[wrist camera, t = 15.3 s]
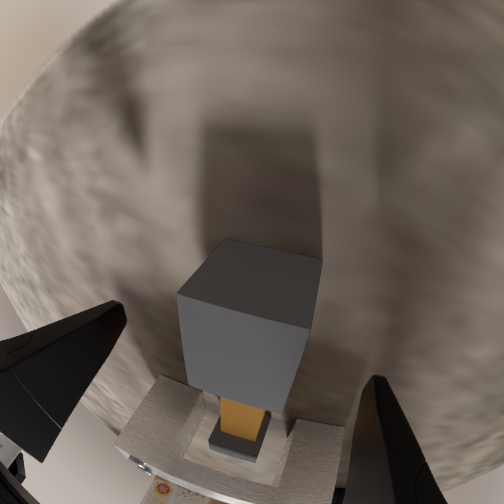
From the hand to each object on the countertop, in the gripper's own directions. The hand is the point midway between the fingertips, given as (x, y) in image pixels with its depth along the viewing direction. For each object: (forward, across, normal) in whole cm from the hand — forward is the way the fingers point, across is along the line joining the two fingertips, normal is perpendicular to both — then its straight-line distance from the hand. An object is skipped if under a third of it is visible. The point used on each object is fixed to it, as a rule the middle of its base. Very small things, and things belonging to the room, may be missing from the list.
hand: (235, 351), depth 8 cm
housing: (+4, 0, +13) cm, 13 cm away
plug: (+4, 0, +6) cm, 7 cm away
